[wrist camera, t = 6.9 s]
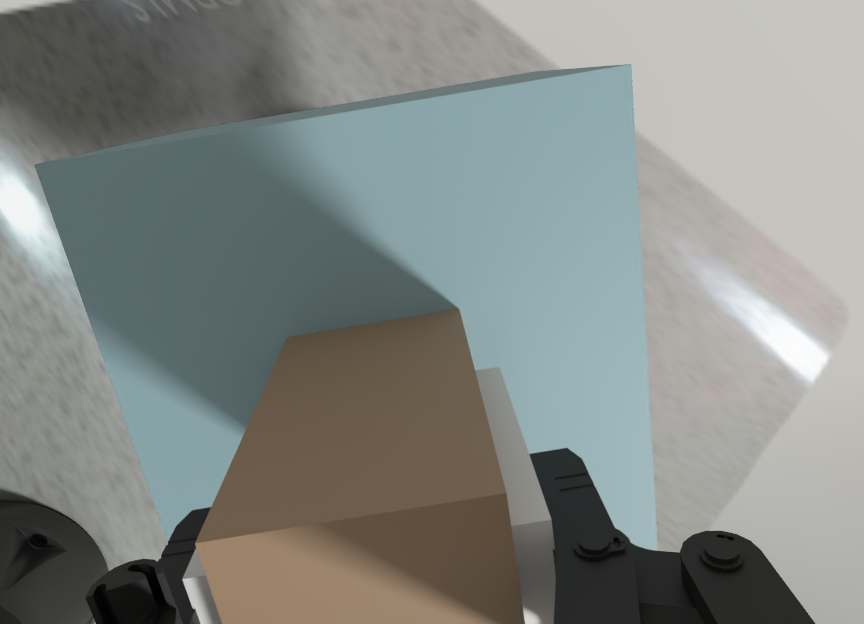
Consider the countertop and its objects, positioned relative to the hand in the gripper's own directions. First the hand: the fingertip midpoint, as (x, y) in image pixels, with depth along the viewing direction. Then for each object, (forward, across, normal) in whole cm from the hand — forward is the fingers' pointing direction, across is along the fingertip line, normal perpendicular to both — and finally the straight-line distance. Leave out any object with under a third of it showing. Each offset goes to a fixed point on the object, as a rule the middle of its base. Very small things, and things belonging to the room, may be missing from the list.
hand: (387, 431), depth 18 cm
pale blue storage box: (+15, 0, 0) cm, 15 cm away
